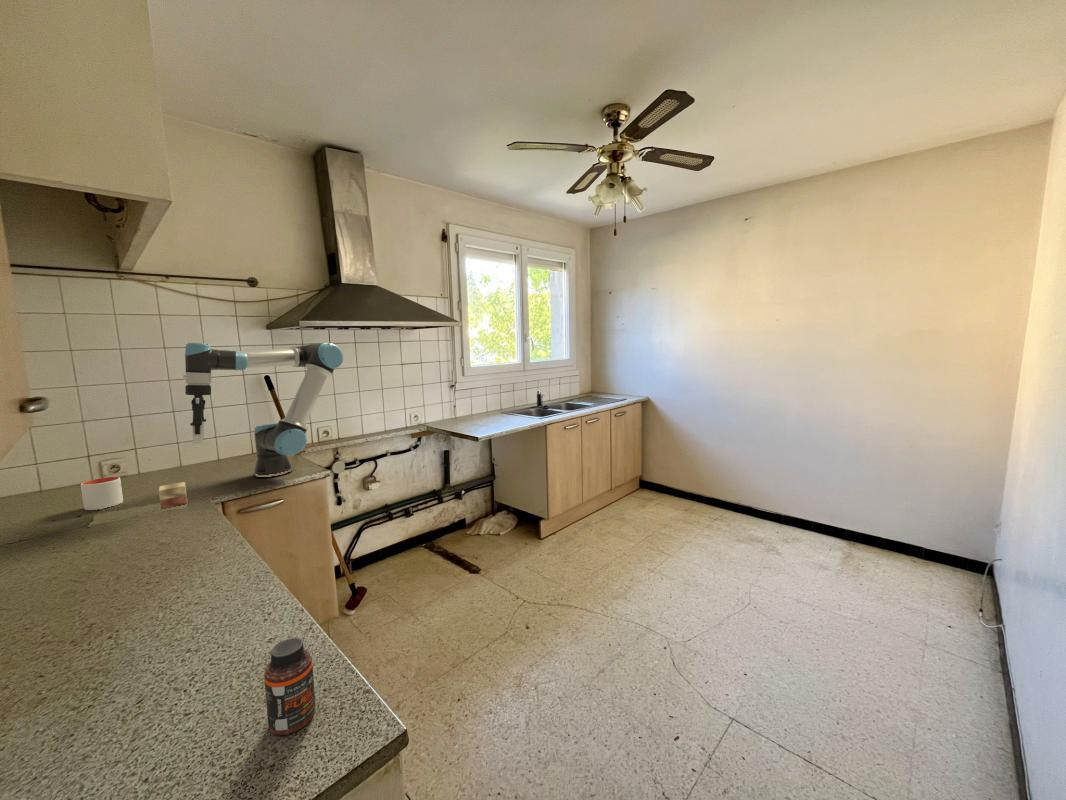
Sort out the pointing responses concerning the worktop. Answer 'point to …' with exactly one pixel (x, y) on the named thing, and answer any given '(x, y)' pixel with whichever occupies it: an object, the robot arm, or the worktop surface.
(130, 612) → the worktop surface
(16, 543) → the worktop surface
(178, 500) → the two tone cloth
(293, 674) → the supplement bottle
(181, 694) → the worktop surface
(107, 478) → the cup
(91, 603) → the worktop surface
